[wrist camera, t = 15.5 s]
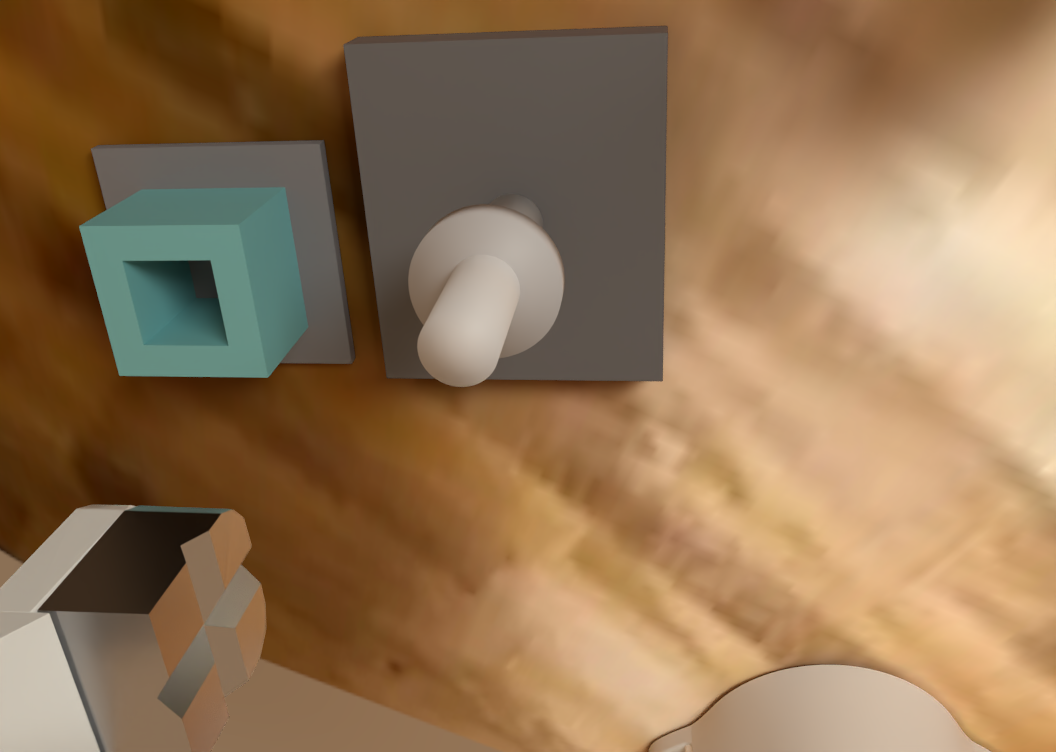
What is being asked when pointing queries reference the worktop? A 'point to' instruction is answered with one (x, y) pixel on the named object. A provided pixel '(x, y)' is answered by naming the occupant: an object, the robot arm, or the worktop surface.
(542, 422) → the worktop surface
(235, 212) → the collar
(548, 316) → the stand
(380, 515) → the worktop surface
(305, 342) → the mat
